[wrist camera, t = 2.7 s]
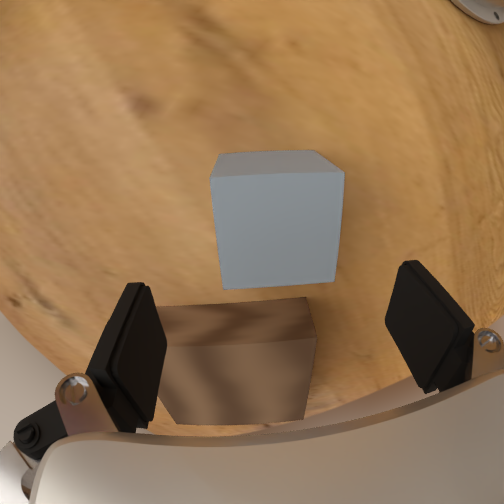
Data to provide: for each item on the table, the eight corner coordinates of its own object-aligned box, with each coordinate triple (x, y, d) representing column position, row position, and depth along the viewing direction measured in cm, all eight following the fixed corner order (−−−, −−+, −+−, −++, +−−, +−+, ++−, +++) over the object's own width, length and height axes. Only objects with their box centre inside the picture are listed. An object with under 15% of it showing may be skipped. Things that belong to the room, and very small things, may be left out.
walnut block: (304, 294, 23) (317, 337, 19) (297, 383, 30) (303, 419, 26) (144, 304, 23) (128, 345, 19) (181, 389, 30) (176, 424, 26)
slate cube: (313, 149, 17) (344, 172, 12) (310, 232, 20) (334, 281, 15) (219, 153, 17) (209, 177, 12) (227, 237, 20) (223, 289, 15)
